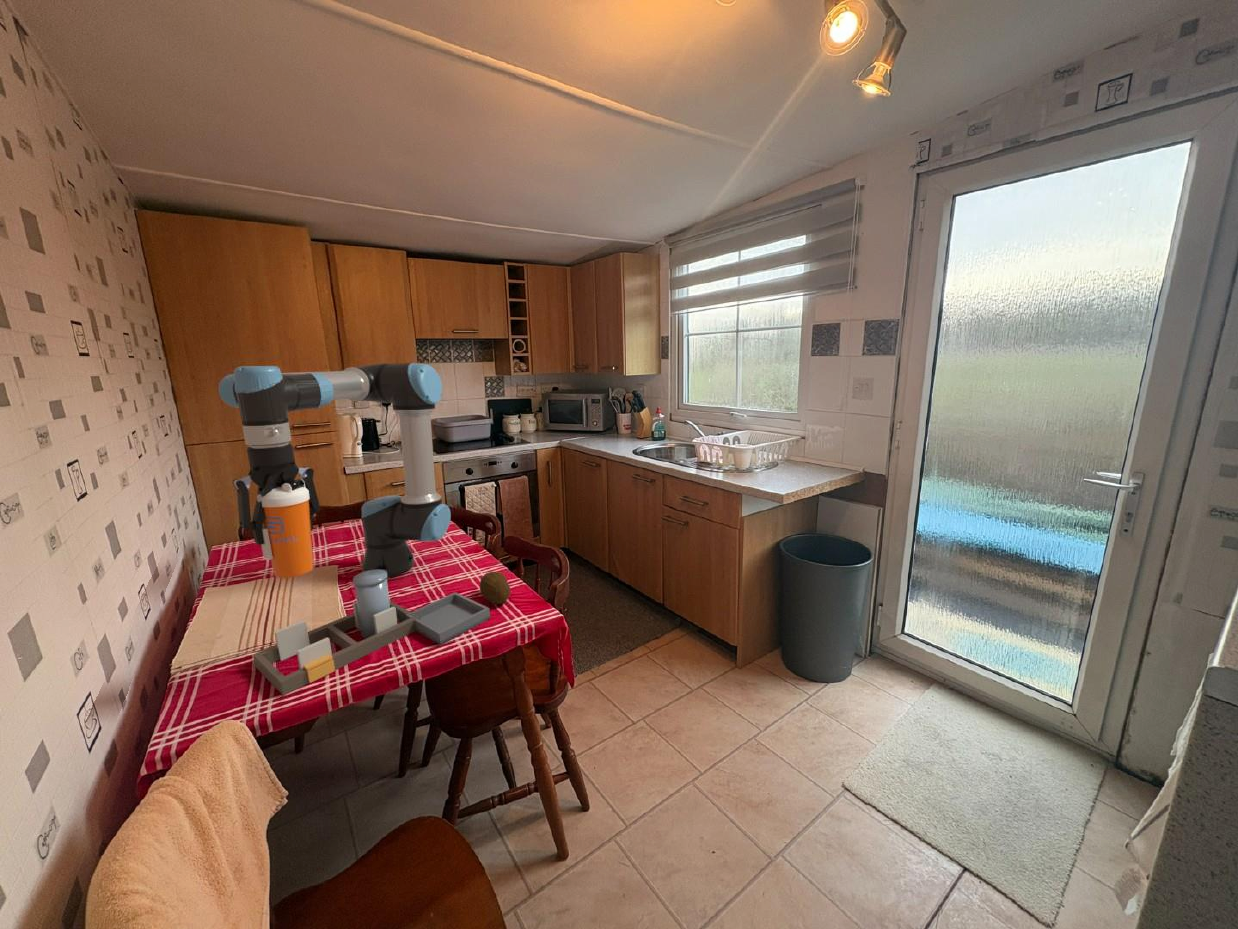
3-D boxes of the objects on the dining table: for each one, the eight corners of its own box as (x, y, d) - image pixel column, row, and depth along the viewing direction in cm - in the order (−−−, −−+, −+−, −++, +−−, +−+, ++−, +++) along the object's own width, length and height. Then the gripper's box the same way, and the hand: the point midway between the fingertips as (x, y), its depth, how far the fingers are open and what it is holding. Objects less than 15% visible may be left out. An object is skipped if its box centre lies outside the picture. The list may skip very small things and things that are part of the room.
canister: (354, 632, 119) (347, 577, 115) (383, 619, 125) (377, 566, 121) (369, 643, 114) (362, 586, 111) (399, 629, 120) (392, 574, 117)
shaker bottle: (284, 562, 107) (271, 475, 102) (326, 561, 107) (315, 475, 103) (258, 580, 98) (243, 486, 94) (304, 579, 99) (291, 485, 94)
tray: (406, 625, 122) (405, 614, 121) (456, 602, 133) (455, 592, 133) (440, 645, 113) (439, 634, 113) (490, 618, 125) (489, 608, 124)
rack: (255, 666, 106) (249, 638, 104) (388, 609, 130) (385, 585, 128) (284, 696, 96) (278, 666, 95) (422, 628, 120) (419, 603, 119)
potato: (492, 612, 128) (491, 585, 126) (471, 595, 137) (469, 570, 135) (519, 602, 133) (518, 576, 132) (497, 586, 142) (496, 562, 140)
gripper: (214, 455, 86) (238, 573, 91) (329, 439, 101) (344, 541, 107) (202, 450, 90) (225, 563, 96) (314, 436, 106) (329, 534, 111)
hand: (288, 551), depth 101 cm, fingers open, 6 cm apart
